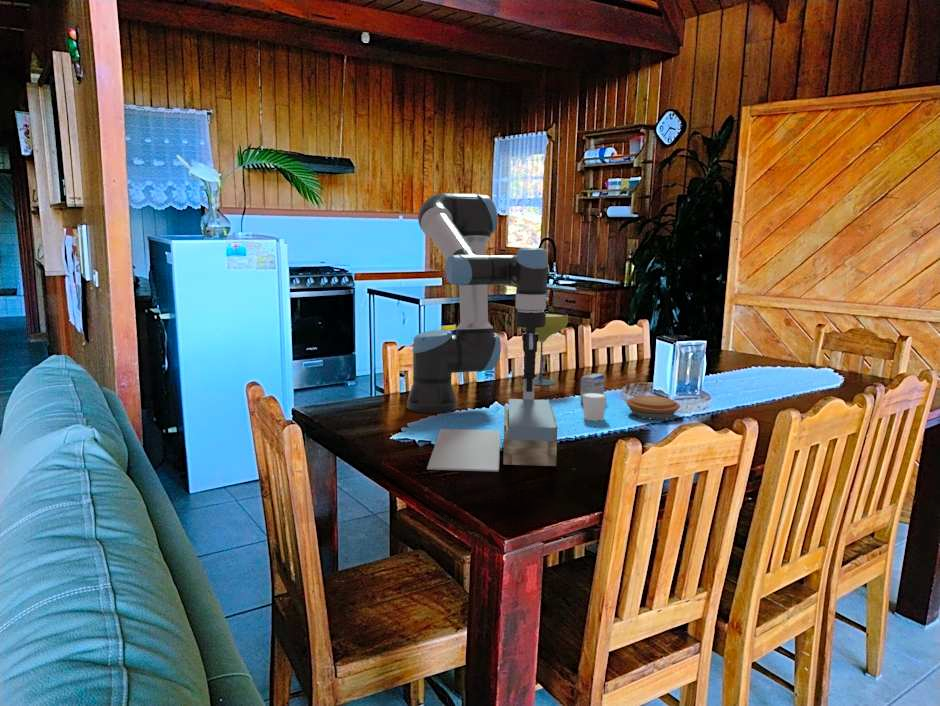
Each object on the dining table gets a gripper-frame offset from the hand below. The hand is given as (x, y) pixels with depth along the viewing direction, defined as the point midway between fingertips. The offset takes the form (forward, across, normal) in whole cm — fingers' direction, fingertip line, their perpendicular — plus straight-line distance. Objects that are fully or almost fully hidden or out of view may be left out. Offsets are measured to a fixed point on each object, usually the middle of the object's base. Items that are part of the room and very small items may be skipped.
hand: (528, 403), depth 174 cm
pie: (+10, +30, -38) cm, 50 cm away
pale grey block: (+2, -14, 0) cm, 14 cm away
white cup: (+10, +24, -20) cm, 33 cm away
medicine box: (+10, +45, -22) cm, 51 cm away
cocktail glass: (+10, +73, -7) cm, 74 cm away
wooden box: (+10, -10, 0) cm, 14 cm away
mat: (+10, -8, +15) cm, 20 cm away
